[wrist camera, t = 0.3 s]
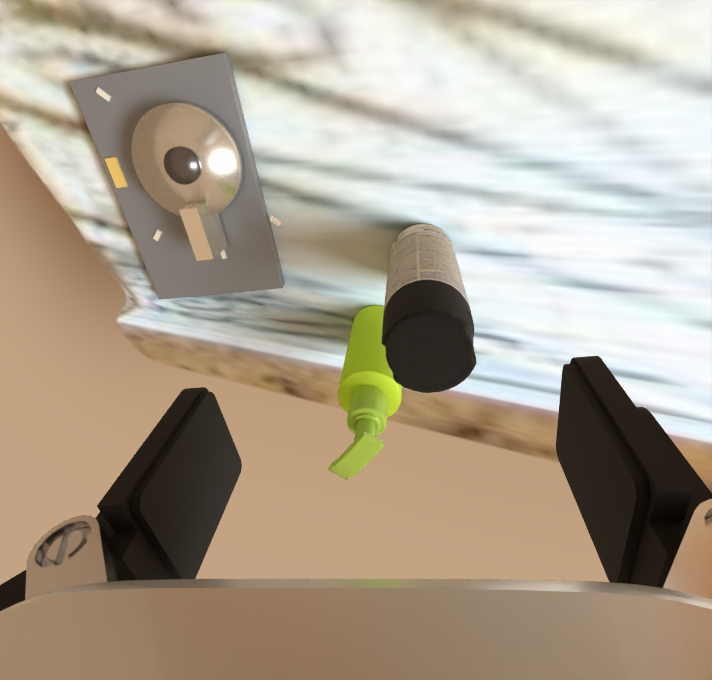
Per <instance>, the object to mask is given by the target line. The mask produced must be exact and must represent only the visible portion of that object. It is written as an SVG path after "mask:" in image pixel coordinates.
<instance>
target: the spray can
mask: <svg viewBox="0 0 712 680" xmlns="http://www.w3.org/2000/svg"><path fill="white" fill-rule="evenodd" d="M473 336H474V324H473V319H472V315H471V311H470V307H469V303H468V299H467V296H466V292H465V288H464V285H463V281H462V277H461V274H460V270H459V266H458V263H457V259H456V256H455V252H454V249H453V245H452V242H451V240H450V239H449V237H448V236H447V235H446V234H445V232H443V231H442V230H441V229H440V228H438V227H436V226H433V225H429V224H417V225H413V226H411V227H408V228H407V229H405V230H404V231H402V232H401V233H400V234H399V235H398V236H397V237H396V239H395V240H394V242H393V244H392V246H391V250H390V258H389V267H388V276H387V285H386V295H385V305H384V315H383V327H382V344H383V345H384V346H385V350H386V359H387V362H388V365H389V367H390V369H391V370H392V372H393V379H394V380H395V381H396V382H397V383H398V384H400V385H402V386H403V387H404V388H408V389H411V390H414V391H419V392H423V393H431V392H440V391H444V390H447V389H450V388H453V387H455V386H457V385H458V384H460V383H461V382H462V381H464V380H465V379H466V378H467V377H468V376H469V375H470V373H471V372H472V370H473V369H474V367H475V365H476V357H475V353H474V347H473Z"/></svg>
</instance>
